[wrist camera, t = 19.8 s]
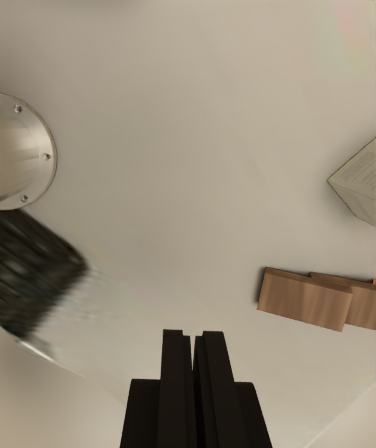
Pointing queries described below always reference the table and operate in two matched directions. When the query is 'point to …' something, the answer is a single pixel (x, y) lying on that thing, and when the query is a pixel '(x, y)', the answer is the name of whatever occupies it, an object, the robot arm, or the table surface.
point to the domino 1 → (305, 299)
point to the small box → (359, 183)
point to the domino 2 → (356, 300)
